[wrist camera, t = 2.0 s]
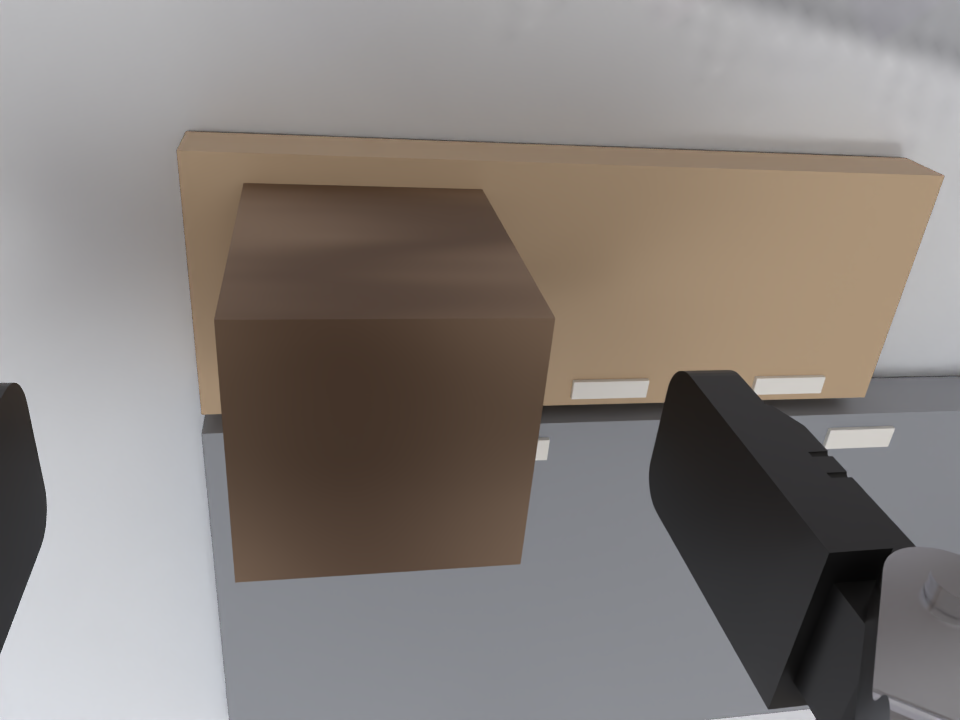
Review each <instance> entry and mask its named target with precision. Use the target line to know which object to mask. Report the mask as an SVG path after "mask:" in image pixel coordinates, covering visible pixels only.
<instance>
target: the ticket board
mask: <svg viewBox="0 0 960 720" xmlns="http://www.w3.org/2000/svg"><path fill="white" fill-rule="evenodd" d="M762 401H763V402H764V403H765V404H766V405H772V406H774V407H775V408H777V409H778V410H780V411H782V412H783V413H785V414H786V415H788V416H790V417H791V418H793V419H794V420H796V421H798V422H799V423H801V424H802V425H804V426H805V427H806V428H807V429H808V430H809V431H810V432H811V433H812V434H813V435H814V436H815V438H816V439H817V440H818V441H819V442H820V443H821V444H822V445H823V446H824V447H825V448H826V449H827V450H828V456H833V457H834V458H835V459H836V460H837V461H838V462H839V463H840V465H841V466H842V467H843V468H844V469H845V470H846V471H847V477H852V478H853V479H854V480H855V481H856V482H857V483H858V484H859V485H860V486H861V487H862V488H863V489H864V491H865V492H866V493H867V494H868V495H869V496H870V497H871V498H872V499H873V500H874V501H875V502H876V504H877V505H878V506H879V507H880V508H881V509H882V510H883V511H884V512H885V513H886V514H887V515H888V517H889V518H890V519H891V520H892V521H893V522H894V523H895V524H896V525H897V526H898V527H899V528H900V530H901V531H902V532H903V533H904V534H905V535H906V536H907V537H908V538H909V539H910V540H911V541H912V543H913V544H914V545H915V546H916V547H931V548H936V549H941V550H945V551H949V552H952V553H956V554H958V555H960V376H947V377H900V378H871V381H870V384H869V386H868V389H867V392H866V395H865V397H858V398H820V399H781V400H762ZM663 406H664V403H628V404H589V405H551V406H543V409H542V416H541V423H540V430H539V437H538V444H537V451H536V459H535V466H534V473H533V480H532V487H531V494H530V501H529V508H528V515H527V522H526V529H525V536H524V543H523V550H522V557H521V564H518V565H502V566H487V567H471V568H456V569H440V570H425V571H409V572H393V573H378V574H362V575H347V576H331V577H315V578H300V579H284V580H269V581H253V582H237V583H235V575H234V563H233V550H232V538H231V525H230V513H229V501H228V488H227V476H226V463H225V451H224V439H223V426H222V414H206V415H205V419H204V424H203V429H202V443H203V453H204V464H205V474H206V485H207V495H208V506H209V516H210V526H211V537H212V547H213V558H214V568H215V579H216V589H217V600H218V610H219V621H220V631H221V641H222V652H223V662H224V673H225V683H226V694H227V704H228V715H229V720H711V719H721V718H730V717H740V716H749V715H758V714H768V713H777V712H787V711H796V710H805V709H810V708H809V706H808V705H805V706H796V707H787V708H779V709H770V710H768V709H767V707H766V705H765V703H764V702H763V700H762V698H761V696H760V694H759V693H758V691H757V689H756V687H755V686H754V684H753V682H752V680H751V679H750V677H749V675H748V673H747V672H746V670H745V668H744V666H743V664H742V663H741V661H740V659H739V657H738V656H737V654H736V652H735V650H734V649H733V647H732V645H731V643H730V641H729V640H728V638H727V636H726V634H725V633H724V631H723V629H722V627H721V626H720V624H719V622H718V620H717V618H716V617H715V615H714V613H713V611H712V610H711V608H710V606H709V604H708V603H707V601H706V599H705V597H704V596H703V594H702V592H701V590H700V588H699V587H698V585H697V583H696V581H695V580H694V578H693V576H692V574H691V573H690V571H689V569H688V567H687V565H686V564H685V562H684V560H683V558H682V557H681V555H680V553H679V551H678V550H677V548H676V546H675V544H674V542H673V541H672V539H671V537H670V535H669V534H668V532H667V530H666V528H665V527H664V525H663V523H662V521H661V520H660V518H659V516H658V514H657V512H656V510H655V508H654V506H653V503H652V499H651V495H650V489H649V467H650V461H651V457H652V453H653V449H654V444H655V440H656V436H657V432H658V427H659V423H660V419H661V414H662V410H663Z"/></svg>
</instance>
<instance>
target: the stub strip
mask: <svg viewBox="0 0 960 720" xmlns="http://www.w3.org/2000/svg"><path fill="white" fill-rule="evenodd" d="M177 160H178V171H179V181H180V192H181V202H182V213H183V224H184V234H185V245H186V255H187V266H188V277H189V287H190V298H191V308H192V319H193V329H194V340H195V351H196V361H197V372H198V382H199V393H200V404H201V414H202V415H206V414H222V426H223V439H224V451H225V463H226V476H227V488H228V501H229V513H230V525H231V538H232V550H233V563H234V575H235V583H237V582H253V581H269V580H284V579H300V578H315V577H331V576H347V575H362V574H378V573H393V572H409V571H425V570H440V569H456V568H471V567H487V566H502V565H518V564H521V557H522V550H523V543H524V536H525V529H526V522H527V515H528V508H529V501H530V494H531V487H532V480H533V473H534V466H535V459H536V451H537V444H538V437H539V430H540V423H541V416H542V409H543V406H551V405H589V404H628V403H664V402H665V397H666V393H667V389H668V385H669V383H670V380H671V378H672V377H673V375H674V374H675V373H677V372H678V371H697V370H733V371H735V372H737V373H738V374H739V375H740V376H741V377H742V378H743V379H744V380H745V382H746V383H747V384H748V385H749V386H750V387H751V388H752V389H753V391H754V392H755V393H756V394H757V395H758V396H759V397H760V398H761V400H781V399H820V398H858V397H865V395H866V392H867V389H868V386H869V384H870V381H871V378H872V375H873V373H874V370H875V367H876V364H877V362H878V359H879V356H880V353H881V350H882V348H883V345H884V342H885V339H886V337H887V334H888V331H889V328H890V326H891V323H892V320H893V317H894V315H895V312H896V309H897V306H898V303H899V301H900V298H901V295H902V292H903V290H904V287H905V284H906V281H907V279H908V276H909V273H910V270H911V268H912V265H913V262H914V259H915V256H916V254H917V251H918V248H919V245H920V243H921V240H922V237H923V234H924V232H925V229H926V226H927V223H928V221H929V218H930V215H931V212H932V209H933V207H934V204H935V201H936V198H937V196H938V193H939V190H940V187H941V185H942V182H943V179H944V175H942V174H940V173H937V172H935V171H933V170H931V169H929V168H927V167H924V166H922V165H920V164H918V163H916V162H914V161H911V160H909V159H907V158H890V157H863V156H836V155H809V154H783V153H756V152H729V151H702V150H675V149H648V148H621V147H595V146H568V145H541V144H514V143H487V142H460V141H433V140H407V139H380V138H353V137H326V136H299V135H272V134H245V133H219V132H192V131H186V133H185V135H184V137H183V139H182V141H181V143H180V145H179V147H178V149H177Z"/></svg>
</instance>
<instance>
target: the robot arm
mask: <svg viewBox="0 0 960 720" xmlns="http://www.w3.org/2000/svg"><path fill="white" fill-rule="evenodd" d="M649 489H650V495H651V499H652V503H653V506H654V508H655V510H656V512H657V514H658V516H659V518H660V520H661V521H662V523H663V525H664V527H665V528H666V530H667V532H668V534H669V535H670V537H671V539H672V541H673V542H674V544H675V546H676V548H677V550H678V551H679V553H680V555H681V557H682V558H683V560H684V562H685V564H686V565H687V567H688V569H689V571H690V573H691V574H692V576H693V578H694V580H695V581H696V583H697V585H698V587H699V588H700V590H701V592H702V594H703V596H704V597H705V599H706V601H707V603H708V604H709V606H710V608H711V610H712V611H713V613H714V615H715V617H716V618H717V620H718V622H719V624H720V626H721V627H722V629H723V631H724V633H725V634H726V636H727V638H728V640H729V641H730V643H731V645H732V647H733V649H734V650H735V652H736V654H737V656H738V657H739V659H740V661H741V663H742V664H743V666H744V668H745V670H746V672H747V673H748V675H749V677H750V679H751V680H752V682H753V684H754V686H755V687H756V689H757V691H758V693H759V694H760V696H761V698H762V700H763V702H764V703H765V705H766V707H767V709H768V710H770V709H779V708H787V707H796V706H805V705H808V706H809V708H810V710H811V711H812V713H813V714H814V716H815V718H816V720H960V555H958V554H956V553H952V552H949V551H945V550H941V549H936V548H931V547H916V546H915V545H914V544H913V543H912V541H911V540H910V539H909V538H908V537H907V536H906V535H905V534H904V533H903V532H902V531H901V530H900V528H899V527H898V526H897V525H896V524H895V523H894V522H893V521H892V520H891V519H890V518H889V517H888V515H887V514H886V513H885V512H884V511H883V510H882V509H881V508H880V507H879V506H878V505H877V504H876V502H875V501H874V500H873V499H872V498H871V497H870V496H869V495H868V494H867V493H866V492H865V491H864V489H863V488H862V487H861V486H860V485H859V484H858V483H857V482H856V481H855V480H854V479H853V478H852V477H847V471H846V470H845V469H844V468H843V467H842V466H841V465H840V463H839V462H838V461H837V460H836V459H835V458H834V457H833V456H828V450H827V449H826V448H825V447H824V446H823V445H822V444H821V443H820V442H819V441H818V440H817V439H816V438H815V436H814V435H813V434H812V433H811V432H810V431H809V430H808V429H807V428H806V427H805V426H804V425H802V424H801V423H799V422H798V421H796V420H794V419H793V418H791V417H790V416H788V415H786V414H785V413H783V412H782V411H780V410H778V409H777V408H775V407H774V406H772V405H766V404H765V403H764V402H763V401H762V400H761V398H760V397H759V396H758V395H757V394H756V393H755V392H754V391H753V389H752V388H751V387H750V386H749V385H748V384H747V383H746V382H745V380H744V379H743V378H742V377H741V376H740V375H739V374H738V373H737V372H735V371H733V370H697V371H678V372H677V373H675V374H674V375H673V377H672V378H671V380H670V383H669V385H668V389H667V393H666V397H665V402H664V406H663V410H662V414H661V419H660V423H659V427H658V432H657V436H656V440H655V444H654V449H653V453H652V457H651V461H650V467H649ZM46 515H47V503H46V492H45V486H44V481H43V477H42V472H41V467H40V462H39V458H38V453H37V448H36V443H35V439H34V434H33V429H32V424H31V420H30V415H29V410H28V405H27V401H26V397H25V394H24V392H23V390H22V388H21V387H20V385H18V384H17V383H0V653H1V651H2V648H3V645H4V643H5V640H6V637H7V635H8V632H9V629H10V627H11V624H12V621H13V619H14V616H15V614H16V611H17V608H18V606H19V603H20V600H21V598H22V595H23V592H24V590H25V587H26V585H27V582H28V579H29V577H30V574H31V571H32V569H33V566H34V563H35V561H36V558H37V556H38V553H39V550H40V548H41V545H42V542H43V538H44V533H45V527H46Z"/></svg>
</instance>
